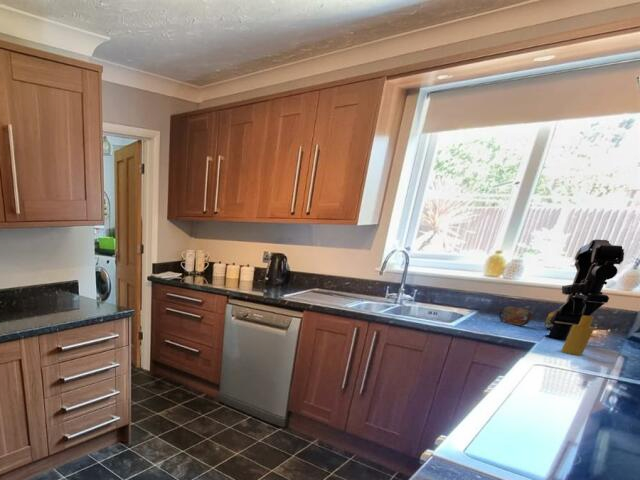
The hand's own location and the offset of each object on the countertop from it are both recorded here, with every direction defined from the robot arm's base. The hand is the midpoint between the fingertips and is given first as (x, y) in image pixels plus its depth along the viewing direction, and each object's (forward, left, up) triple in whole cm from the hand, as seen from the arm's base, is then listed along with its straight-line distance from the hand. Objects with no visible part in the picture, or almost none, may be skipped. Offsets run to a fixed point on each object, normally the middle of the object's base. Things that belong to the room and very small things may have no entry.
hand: (579, 316), depth 174 cm
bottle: (+8, +7, -13) cm, 17 cm away
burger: (-34, -27, -13) cm, 45 cm away
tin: (-22, -41, -13) cm, 48 cm away
